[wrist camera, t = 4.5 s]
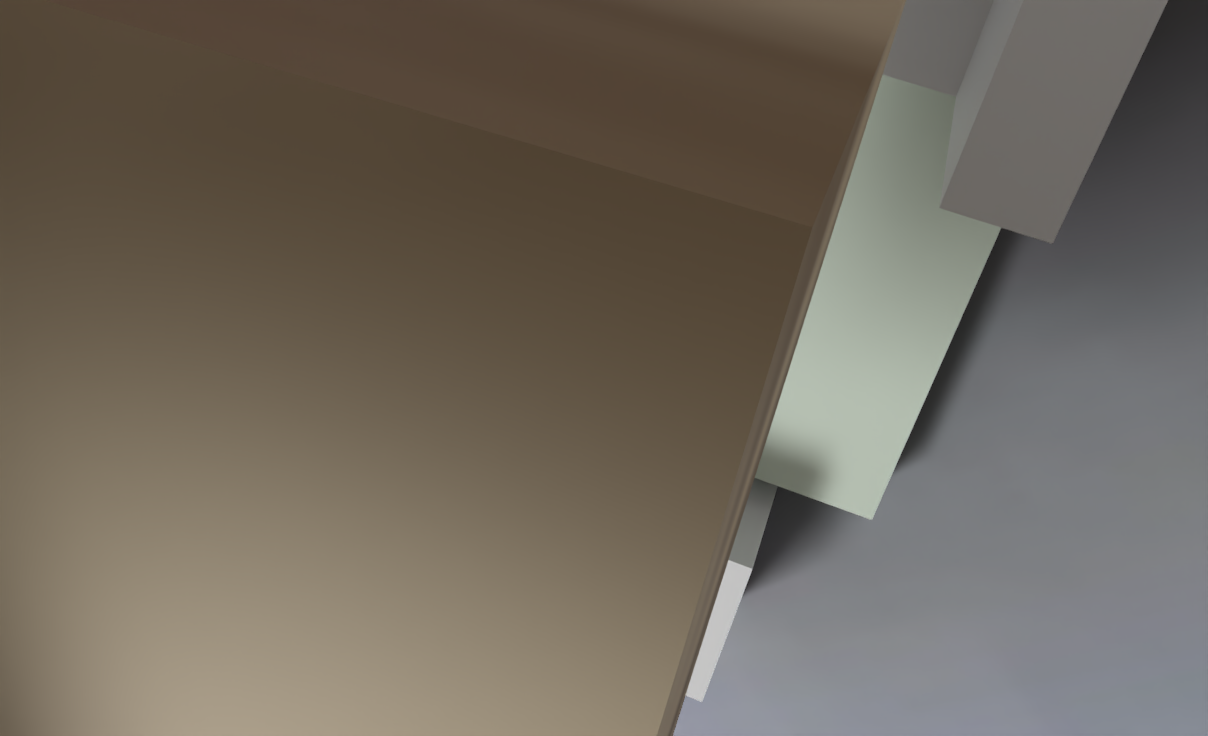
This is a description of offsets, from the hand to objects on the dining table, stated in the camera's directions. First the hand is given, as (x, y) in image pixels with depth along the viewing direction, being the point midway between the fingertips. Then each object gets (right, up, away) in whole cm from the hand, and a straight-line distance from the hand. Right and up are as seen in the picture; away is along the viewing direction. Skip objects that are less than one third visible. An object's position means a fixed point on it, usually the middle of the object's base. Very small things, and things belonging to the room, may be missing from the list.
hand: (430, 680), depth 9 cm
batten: (0, +1, +1) cm, 1 cm away
